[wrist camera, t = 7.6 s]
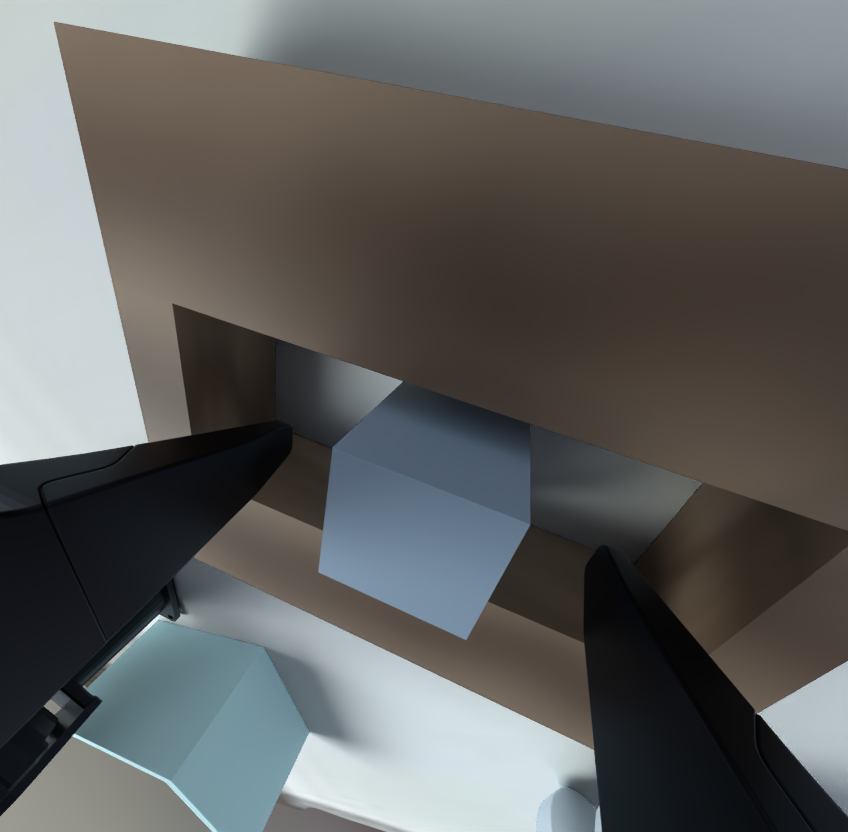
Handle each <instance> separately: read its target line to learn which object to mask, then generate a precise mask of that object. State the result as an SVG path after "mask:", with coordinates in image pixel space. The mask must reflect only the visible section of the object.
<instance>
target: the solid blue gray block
mask: <svg viewBox="0 0 848 832" xmlns="http://www.w3.org/2000/svg"><path fill="white" fill-rule="evenodd" d="M529 526H530V424H529V423H526V422H523V421H520V420H517V419H514V418H511V417H508V416H505V415H502V414H499V413H496V412H494V411H491V410H488V409H485V408H482V407H479V406H476V405H473V404H470V403H467V402H464V401H461V400H458V399H455V398H452V397H449V396H446V395H443V394H440V393H437V392H434V391H431V390H428V389H425V388H422V387H419V386H416V385H413V384H410V383H407V382H404V381H403V382H402V383H401V384H400V385H399V386H398V387H397V388H396V389H395V390H394V391H393V392H392V393H391V394H389V395H388V396H387V397H386V398H385V399H384V400H383V401H382V402H381V403H380V404H379V405H378V406H377V407H375V408H374V409H373V410H372V411H371V412H370V413H369V414H368V415H367V416H366V417H365V418H364V419H362V420H361V421H360V422H359V423H358V424H357V425H356V426H355V427H354V428H353V429H352V430H351V431H350V432H348V433H347V434H346V435H345V436H344V437H343V438H342V439H341V440H340V441H339V442H338V443H337V444H336V445H334V446H333V448H332V457H331V465H330V474H329V483H328V492H327V500H326V509H325V518H324V527H323V535H322V544H321V553H320V562H319V570H318V572H319V573H321V574H323V575H325V576H327V577H330V578H332V579H334V580H336V581H338V582H341V583H343V584H345V585H347V586H349V587H351V588H354V589H356V590H358V591H360V592H362V593H365V594H367V595H369V596H371V597H373V598H375V599H378V600H380V601H382V602H384V603H386V604H388V605H391V606H393V607H395V608H397V609H399V610H402V611H404V612H406V613H408V614H410V615H412V616H415V617H417V618H419V619H421V620H423V621H426V622H428V623H430V624H432V625H434V626H436V627H439V628H441V629H443V630H445V631H447V632H450V633H452V634H454V635H456V636H458V637H460V638H463V639H465V640H466V639H467V638H468V636H469V634H470V632H471V630H472V629H473V627H474V625H475V623H476V621H477V620H478V618H479V616H480V614H481V612H482V611H483V609H484V607H485V605H486V603H487V602H488V600H489V598H490V596H491V594H492V593H493V591H494V589H495V587H496V585H497V584H498V582H499V580H500V578H501V576H502V575H503V573H504V571H505V569H506V567H507V566H508V564H509V562H510V560H511V558H512V557H513V555H514V553H515V551H516V549H517V548H518V546H519V544H520V542H521V540H522V539H523V537H524V535H525V533H526V531H527V530H528V528H529Z"/></svg>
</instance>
